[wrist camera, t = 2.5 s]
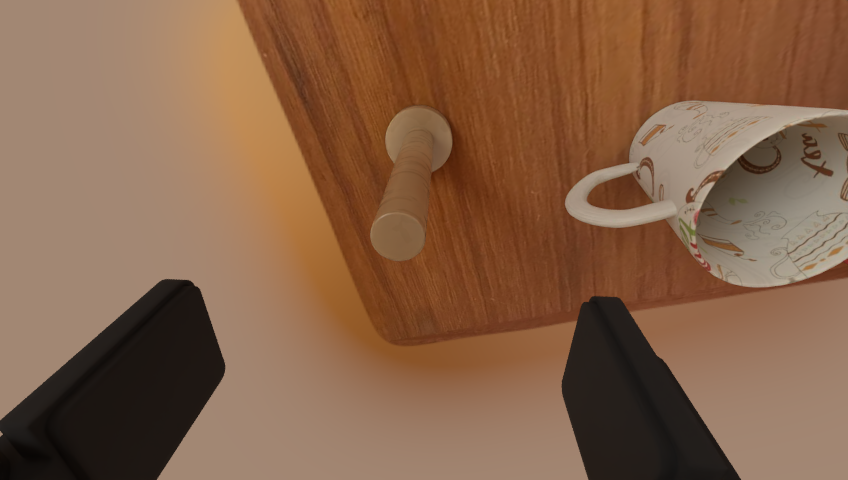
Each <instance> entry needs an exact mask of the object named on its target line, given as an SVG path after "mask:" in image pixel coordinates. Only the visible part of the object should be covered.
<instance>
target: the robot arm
mask: <svg viewBox="0 0 848 480" xmlns="http://www.w3.org/2000/svg"><path fill="white" fill-rule="evenodd" d="M224 373H225V363H224V359H223V357H222V354H221V351H220V348H219V345H218V342H217V339H216V336H215V333H214V330H213V327H212V324H211V321H210V318H209V315H208V312H207V309H206V306H205V303H204V300H203V297H202V294H201V291H200V289H199V288H198V287H196V286H194V284H193V283H192V282H191V281H189V280H174V279H173V280H172V279H165V280H162V281H160V282H159V283H158V284H156V285H155V286H154V287H153V288H152V289H151V290H150V291H148V292H147V293H146V294H145V295H144V296H143V297H141V298H140V299H139V300H138V301H137V302H136V303H135V304H133V305H132V306H131V307H130V308H129V309H128V310H127V311H125V312H124V313H123V314H122V315H121V316H120V317H118V319H116V320H115V321H114V322H113V323H112V324H110V325H109V326H108V327H107V328H106V329H105V330H104V331H102V333H100V334H99V335H98V336H97V337H96V338H95V339H93V340H92V341H91V342H90V343H89V344H88V345H86V346H85V347H84V348H83V349H82V350H81V351H79V352H78V353H77V354H76V355H75V356H74V357H73V358H71V359H70V360H69V361H68V362H67V363H66V364H65V365H63V366H62V367H61V368H60V369H59V370H58V371H56V372H55V373H54V374H53V375H52V376H51V377H50V378H48V379H47V380H46V381H45V382H44V383H43V384H42V385H41V386H39V387H38V388H37V389H36V390H35V391H33V393H31V394H30V395H29V396H28V397H27V398H25V399H24V400H23V401H22V402H21V403H20V404H19V405H17V406H16V407H15V408H14V409H13V410H12V411H11V412H9V413H8V414H7V415H6V416H5V417H4V418H2V420H0V431H1V432H2V433H3V435H2V436H1V437H0V480H157V478H158V477H159V475H160V473H161V472H162V470H163V469H164V467H165V466H166V464H167V463H168V461H169V460H170V458H171V457H172V455H173V454H174V452H175V451H176V449H177V447H178V446H179V444H180V443H181V441H182V440H183V438H184V437H185V435H186V434H187V432H188V430H189V429H190V427H191V426H192V424H193V423H194V421H195V420H196V418H197V417H198V415H199V414H200V412H201V410H202V409H203V407H204V406H205V404H206V403H207V401H208V400H209V398H210V397H211V395H212V394H213V392H214V391H215V389H216V387H217V386H218V384H219V383H220V381H221V380H222V378H223V376H224ZM562 394H563V398H564V401H565V405H566V408H567V411H568V414H569V418H570V421H571V424H572V428H573V431H574V434H575V437H576V441H577V444H578V447H579V450H580V454H581V457H582V460H583V463H584V467H585V470H586V473H587V476H588V479H589V480H741V479H740V478H739V476H738V474H737V472H736V471H735V469H734V468H733V466H732V465H731V463H730V462H729V460H728V459H727V457H726V456H725V454H724V452H723V451H722V449H721V448H720V446H719V445H718V443H717V442H716V440H715V438H714V437H713V435H712V434H711V433H710V431H709V429H708V428H707V426H706V425H705V423H704V421H703V420H702V419H701V417H700V415H699V414H698V412H697V411H696V409H695V408H694V406H693V405H692V403H691V401H690V400H689V398H688V397H687V395H686V394H685V392H684V391H683V389H682V387H681V386H680V384H679V383H678V381H677V380H676V378H675V377H674V375H673V374H672V372H671V371H670V369H669V367H668V366H667V364H666V363H665V362H664V361H663V360H662V359H661V358H659V357H658V356H657V355H656V354H655V352H654V351H653V349H652V348H651V346H650V344H649V343H648V341H647V340H646V338H645V337H644V335H643V333H642V332H641V330H640V329H639V327H638V325H637V324H636V323H635V321H634V319H633V318H632V316H631V314H630V313H629V311H628V310H627V308H626V307H625V305H624V303H623V302H622V300H621V299H620V298H618V297H600V296H593V297H591V299H590V300H589V302H584V303H583V304H582V306H581V309H580V313H579V317H578V321H577V325H576V329H575V332H574V336H573V340H572V344H571V348H570V352H569V356H568V360H567V364H566V368H565V372H564V376H563V380H562Z"/></svg>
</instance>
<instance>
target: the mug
mask: <svg viewBox="0 0 848 480" xmlns="http://www.w3.org/2000/svg"><path fill="white" fill-rule="evenodd" d="M630 173H632V174H633V176H634V177H635V179H636V180H637V182H638V183H639V185H640V186H641V187H642V189H643V190H644V191H645V193H646V194H647V195H648V197H649V198H650V199H651V201H652V202H653V203H652V204H648V205H645V206H641V207H637V208H632V209H626V210H610V209H603V208H598V207H595V206H592V205H590V204H589V203H588V202H587V196H588V195H589V193H590V192H591V190H592V189H593V188H594V187H595V186H596V185H598V184H600V183H603V182H605V181H608V180H611V179H614V178H617V177H621V176H624V175H627V174H630ZM565 207H566V209H567V211H568V212H569V214H570V215H572V216H573V217H574V218H576V219H578V220H580V221H582V222H585V223H588V224H592V225H597V226H602V227H611V228H623V227H631V226H637V225H642V224H646V223H650V222H655V221H659V220H663V219H666V221H667V222H668V223H669V225H670V226H671V228H672V229H673V230H674V232H675V233H676V234H677V236H678V237H679V238H680V240H681V241H682V242H683V244H684V245H685V246H686V248H687V249H688V250H689V252H690V253H691V254H692V256H693V257H694V258H695V259H696V260H697V261H698V263H699V264H700V265H701V266H702V267H703V268H704V269H706V270H707V271H708V272H709V273H711V274H712V275H713V276H715V277H717V278H719V279H721V280H723V281H725V282H728V283H731V284H735V285H739V286H745V287H773V286H780V285H785V284H790V283H794V282H798V281H801V280H804V279H807V278H810V277H812V276H815V275H817V274H820V273H822V272H824V271H826V270H828V269H830V268H832V267H834V266H836V265H837V264H839V263H841V262H842V261H844V260H846V259H847V258H848V110H839V109H829V108H813V107H796V106H779V105H762V104H746V103H729V102H712V101H684V102H679V103H675V104H672V105H670V106H667V107H665V108H663V109H662V110H660V111H658V112H657V113H655V114H654V115H653V116H651V117H650V118H649V119H648V120H647V121H646V122H645V123H644V124H643V125H642V127H641V128H640V129H639V131H638V132H637V134H636V135H635V137H634V139H633V142H632V144H631V148H630V153H629V163H627V164H622V165H618V166H613V167H610V168H605V169H602V170H598V171H595V172H593V173H591V174H589V175H587V176H586V177H584V178H583V179H582V180H580V181H579V182H578V183H577V184H576V185H575V186H574V187H573V188H572V189H571V190H570V192H569V193H568V195H567V197H566V200H565Z"/></svg>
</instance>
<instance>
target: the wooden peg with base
mask: <svg viewBox="0 0 848 480" xmlns="http://www.w3.org/2000/svg"><path fill="white" fill-rule="evenodd" d="M385 143H386V149H387V152H388V155H389V157H390V158H391V160H392V161H393V162H394V167H393V170H392V172H391V175H390V178H389V181H388V183H387V186H386V189H385V192H384V194H383V197H382V200H381V203H380V205H379V208H378V211H377V214H376V216H375V219H374V222H373V225H372V228H371V232H370V238H371V242H372V245H373V247H374V248H375V250H376V251H377V252H378V253H379V254H380V255H382V256H383V257H385V258H387V259H390V260H394V261H405V260H409V259H411V258H413V257H415V256H416V255H418V254H419V253H420V252H421V250H422V249H423V247H424V245H425V240H426V229H427V217H428V206H429V195H430V183H431V172H433V171H435V170H437V169H439V168H440V167H441V166H442V165H443V164H444V163H445V162H446V161H447V159H448V157H449V155H450V153H451V149H452V131H451V128H450V125H449V123H448V121H447V120H446V118H445V117H444V116H443V115H442V114H441V113H440V112H439V111H437V110H436V109H434V108H432V107H429V106H425V105H414V106H409V107H407V108H405V109H403V110H401V111H400V112H398V113H397V114H396V115H395V117H394V118H393V119H392V121H391V122H390V124H389V126H388V129H387V132H386V137H385Z"/></svg>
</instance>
